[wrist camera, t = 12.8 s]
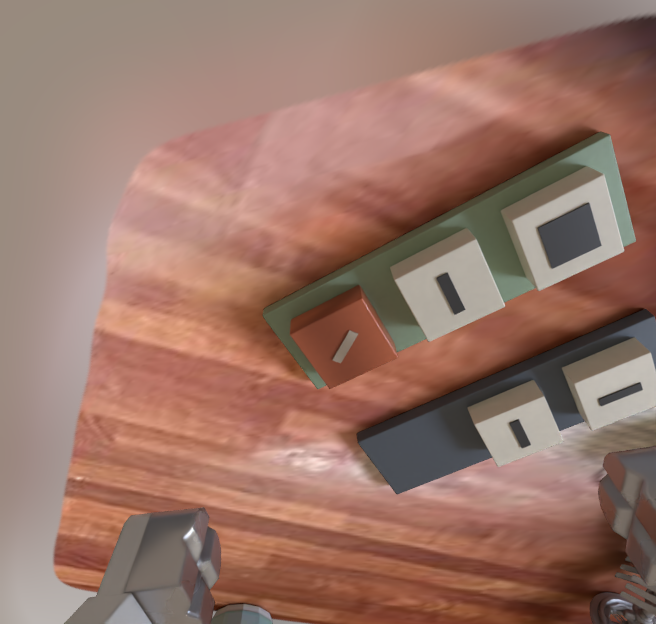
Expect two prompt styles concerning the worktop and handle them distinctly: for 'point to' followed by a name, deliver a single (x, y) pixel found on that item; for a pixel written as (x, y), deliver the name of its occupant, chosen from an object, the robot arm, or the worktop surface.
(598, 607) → the spaceship
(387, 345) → the brown flat square block
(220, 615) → the disposable coffee cup
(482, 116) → the worktop surface
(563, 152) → the green word strip
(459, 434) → the strip
